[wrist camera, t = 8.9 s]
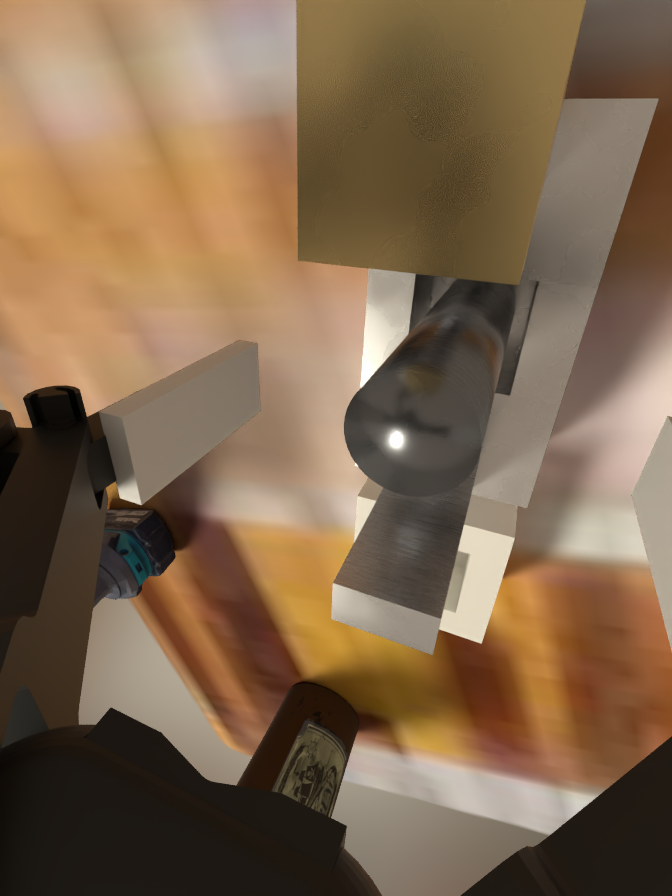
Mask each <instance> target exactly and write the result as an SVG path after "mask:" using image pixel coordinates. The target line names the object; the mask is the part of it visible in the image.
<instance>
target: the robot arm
mask: <svg viewBox="0 0 672 896" xmlns="http://www.w3.org/2000/svg"><path fill="white" fill-rule="evenodd" d="M23 400H24V403H25V406H26V409H27V412H28V415H29V418H30V421H31V424H32V426H33V427H32V428H19V427H16V426H15V423H14V420H13V417H12V415H11V413H10V412H8V411H6V410H0V896H382V895H381V893H380V892H379V890H378V888H377V887H376V885H375V884H374V882H373V880H372V879H371V878H370V876H369V875H368V874H367V873H366V871H365V870H364V869H363V868H362V866H361V865H360V864H359V863H358V861H357V860H356V859H355V858H353V857H352V856H351V855H350V854H349V853H348V852H347V851H346V850H345V849H344V844H345V836H346V828H347V826H346V825H344V824H342V823H340V822H338V821H336V820H334V819H332V818H330V817H328V816H326V815H324V814H322V813H320V812H318V811H316V810H314V809H312V808H310V807H308V806H306V805H304V804H302V803H300V802H298V801H296V800H294V799H292V798H290V797H288V796H286V795H284V794H282V793H279V792H272V791H266V790H260V789H254V788H247V787H241V786H235V785H229V784H222V783H216V782H211V781H209V780H207V779H205V778H204V777H203V776H202V775H201V774H200V773H199V772H198V771H197V770H196V769H195V768H194V767H193V766H192V765H191V764H190V763H189V762H188V761H187V760H186V759H185V757H184V756H183V755H182V754H181V753H180V752H179V751H178V750H177V749H176V748H175V747H174V746H173V745H172V744H171V743H170V742H169V741H168V739H167V738H166V737H165V736H164V735H163V734H162V733H161V732H159V731H157V730H155V729H153V728H151V727H149V726H147V725H145V724H142V723H141V722H139V721H137V720H135V719H133V718H131V717H129V716H127V715H125V714H123V713H121V712H119V711H117V710H115V709H113V708H110V709H109V710H108V711H107V712H106V714H105V715H104V716H103V717H102V718H101V720H100V721H99V722H98V723H97V724H96V725H79V720H78V712H79V702H80V696H81V688H82V681H83V674H84V667H85V660H86V653H87V646H88V639H89V632H90V624H91V618H92V611H93V604H94V597H95V590H96V583H97V576H98V569H99V562H100V555H101V547H102V540H103V533H104V526H105V519H106V512H107V505H108V495H107V491H106V487H108V486H109V485H110V484H112V483H113V482H115V481H116V484H117V488H118V492H119V496H120V498H121V499H124V500H127V501H130V502H133V503H136V504H139V505H143V504H144V503H145V502H146V501H148V500H149V499H150V498H151V497H153V496H154V495H155V494H156V493H158V492H159V491H160V490H162V489H163V488H164V487H165V486H167V485H168V484H169V483H170V482H172V481H173V480H174V479H175V478H177V477H178V476H179V475H180V474H182V473H183V472H184V471H186V470H187V469H188V468H189V467H191V466H192V465H193V464H194V463H196V462H197V461H198V460H199V459H201V458H202V457H203V456H204V455H206V454H207V453H208V452H210V451H211V450H212V449H213V448H215V447H216V446H217V445H218V444H220V443H221V442H222V441H223V440H225V439H226V438H227V437H228V436H230V435H231V434H232V433H234V432H235V431H236V430H237V429H239V428H240V427H241V426H242V425H244V424H245V423H246V422H247V421H249V420H250V419H251V418H252V417H254V416H255V415H256V414H258V413H259V412H260V411H261V408H260V387H259V366H258V345H257V343H253V342H247V341H242V340H239V341H237V342H235V343H233V344H231V345H229V346H227V347H225V348H223V349H221V350H219V351H217V352H215V353H213V354H211V355H209V356H207V357H205V358H203V359H201V360H199V361H197V362H195V363H193V364H191V365H189V366H187V367H185V368H183V369H181V370H180V371H178V372H176V373H174V374H172V375H170V376H168V377H166V378H164V379H162V380H160V381H158V382H156V383H154V384H152V385H150V386H148V387H146V388H144V389H142V390H140V391H138V392H136V393H134V394H132V395H130V396H128V397H126V398H124V399H122V400H120V401H118V402H117V403H114V404H112V405H110V406H108V407H106V408H104V409H102V410H100V411H98V412H96V413H94V414H92V415H90V416H88V417H87V416H86V412H85V408H84V404H83V400H82V397H81V393H80V390H79V389H78V388H76V387H72V386H51V387H45V388H41V389H38V390H35V391H33V392H31V393H28V394H27V395H26V396H25V397H24V398H23ZM631 496H632V500H633V504H634V507H635V511H636V515H637V519H638V523H639V527H640V531H641V534H642V538H643V542H644V546H645V550H646V554H647V558H648V561H649V565H650V569H651V573H652V577H653V581H654V585H655V588H656V592H657V596H658V600H659V604H660V608H661V612H662V615H663V619H664V623H665V627H666V631H667V635H668V639H669V642H670V646H671V650H672V417H670V416H667V418H666V421H665V423H664V425H663V427H662V429H661V432H660V434H659V436H658V438H657V440H656V443H655V445H654V447H653V449H652V451H651V453H650V456H649V458H648V460H647V462H646V464H645V467H644V469H643V471H642V473H641V475H640V477H639V480H638V482H637V484H636V486H635V488H634V491H633V493H632V495H631ZM461 896H672V737H670V738H669V739H668V740H667V741H666V742H664V743H663V744H662V745H661V746H659V747H658V748H657V749H656V750H654V751H653V752H652V753H651V754H650V755H648V756H647V757H646V758H645V759H643V760H642V761H641V762H640V763H638V764H637V765H636V766H635V767H634V768H632V769H631V770H630V771H629V772H627V773H626V774H625V775H624V776H622V777H621V778H620V779H619V780H618V781H616V782H615V783H614V784H613V785H611V786H610V787H609V788H608V789H606V790H605V791H604V792H603V793H602V794H600V795H599V796H598V797H597V798H595V799H594V800H593V801H592V802H590V803H589V804H588V805H587V806H586V807H584V808H583V809H582V810H581V811H579V812H578V813H577V814H576V815H574V816H573V817H572V818H571V819H570V820H568V821H567V822H566V823H565V824H563V825H562V826H561V827H560V828H558V829H557V830H556V831H555V832H554V833H552V834H551V835H550V836H549V837H547V838H546V839H545V840H543V841H542V842H541V843H540V844H538V845H536V846H535V847H528V846H526V847H525V848H523V849H521V850H519V851H517V852H516V853H514V854H513V855H512V856H510V857H509V858H508V859H506V860H505V861H503V862H502V863H501V864H500V865H498V866H497V867H496V868H495V869H493V870H492V871H491V872H490V873H488V874H487V875H486V876H485V877H483V878H482V879H481V880H480V881H478V882H477V883H476V884H475V885H473V886H472V887H471V888H470V889H469V890H467V891H466V892H465V893H463V894H462V895H461Z"/></svg>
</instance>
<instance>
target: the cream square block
mask: <svg viewBox="0 0 672 896" xmlns="http://www.w3.org/2000/svg"><path fill="white" fill-rule="evenodd" d="M382 489H383V487H382V486H380V485H378V484H377V483H375V482H374V481H373V480H371V479H370V478H368V479H367V481H366V483H365V484H364V486H363V488H362V489H361V491H360V493H359V494H358V497H357V510H356V523H355V536H354V542H355V540H356V539H357V537H358V535H359V533H360V531H361V529H362V527H363V525H364V523H365V522H366V520H367V518H368V516H369V514H370V512H371V510H372V508H373V506H374V504H375V503H376V501H377V499H378V497H379V495H380V493H381V491H382ZM517 512H518V506H515V505H511V504H507V503H503V502H499V501H495V500H491V499H487V498H483V497H479V496H475V495H471V498H470V502H469V507H468V511H467V515H466V519H465V523H464V527H463V531H462V536H461V540H460V544H459V548H458V552H457V556H456V560H455V565H454V569H453V573H452V577H451V581H450V585H449V589H448V594H447V598H446V602H445V606H444V610H443V614H442V618H441V623H440V627H439V629H440V630H443V631H446V632H449V633H452V634H455V635H458V636H460V637H463V638H466V639H469V640H472V641H475V642H478V643H481V644H482V641H483V637H484V634H485V631H486V628H487V625H488V622H489V619H490V615H491V612H492V609H493V606H494V603H495V600H496V597H497V593H498V590H499V587H500V584H501V581H502V578H503V574H504V571H505V568H506V565H507V562H508V559H509V556H510V552H511V549H512V546H513V543H514V540H515V533H516V523H517Z"/></svg>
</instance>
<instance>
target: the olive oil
mask: <svg viewBox="0 0 672 896" xmlns="http://www.w3.org/2000/svg"><path fill="white" fill-rule="evenodd" d="M358 726H359V721H358V717H357V715H356V713H355V711H354V710H353V708H352V707H351V706H350V705H349V704H348V703H347V702H346V701H345V700H344V699H343V698H341V697H340V696H339V695H337V694H336V693H334V692H332V691H331V690H329V689H326V688H324V687H322V686H319V685H315V684H310V683H301V684H297V685H294V686H293V687H291V689H290V690H289V692H288V693H287V695H286V697H285V699H284V701H283V702H282V704H281V706H280V708H279V710H278V712H277V714H276V716H275V717H274V719H273V721H272V723H271V725H270V727H269V728H268V730H267V732H266V734H265V736H264V737H263V739H262V741H261V743H260V745H259V746H258V748H257V750H256V752H255V753H254V755H253V757H252V759H251V761H250V762H249V764H248V766H247V768H246V770H245V771H244V773H243V775H242V777H241V779H240V780H239V782H238V784H237V785H236V786H241V787H247V788H254V789H260V790H266V791H272V792H279V793H282V794H284V795H286V796H288V797H290V798H292V799H294V800H296V801H298V802H300V803H302V804H304V805H306V806H308V807H310V808H312V809H314V810H316V811H318V812H320V813H322V814H324V815H326V816H328V817H330V818H331V816H332V812H333V809H334V806H335V803H336V799H337V796H338V792H339V789H340V786H341V782H342V779H343V776H344V772H345V769H346V766H347V763H348V759H349V756H350V753H351V750H352V747H353V743H354V740H355V737H356V734H357V731H358Z"/></svg>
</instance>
